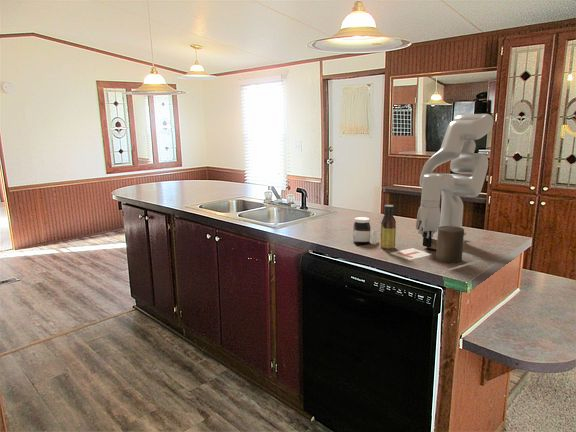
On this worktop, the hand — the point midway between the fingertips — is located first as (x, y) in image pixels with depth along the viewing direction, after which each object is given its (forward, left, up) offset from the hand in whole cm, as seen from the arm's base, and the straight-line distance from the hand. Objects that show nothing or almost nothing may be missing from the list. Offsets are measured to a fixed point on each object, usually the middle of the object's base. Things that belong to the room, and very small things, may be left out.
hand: (426, 246), depth 178 cm
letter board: (+9, 0, -3) cm, 10 cm away
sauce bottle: (+11, -12, -3) cm, 16 cm away
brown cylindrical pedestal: (+3, +13, -3) cm, 14 cm away
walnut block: (-4, 0, -2) cm, 4 cm away
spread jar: (+12, -25, -3) cm, 28 cm away
